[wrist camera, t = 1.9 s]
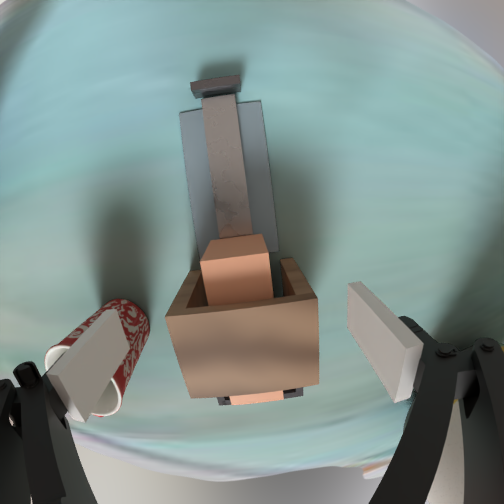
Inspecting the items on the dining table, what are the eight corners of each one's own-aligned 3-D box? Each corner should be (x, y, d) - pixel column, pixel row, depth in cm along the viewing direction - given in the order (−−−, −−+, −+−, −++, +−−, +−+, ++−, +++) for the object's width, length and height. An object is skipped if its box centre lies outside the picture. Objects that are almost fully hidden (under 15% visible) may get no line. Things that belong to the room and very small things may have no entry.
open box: (297, 325, 34) (319, 384, 23) (204, 337, 34) (190, 398, 23) (292, 257, 32) (317, 298, 21) (189, 271, 32) (164, 316, 21)
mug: (97, 282, 32) (38, 331, 19) (160, 302, 33) (121, 367, 20) (96, 356, 35) (56, 415, 22) (151, 375, 36) (123, 444, 23)
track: (271, 339, 35) (274, 352, 32) (233, 344, 35) (232, 357, 32) (239, 84, 27) (239, 74, 24) (194, 90, 27) (190, 82, 24)
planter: (455, 298, 35) (573, 390, 9) (503, 343, 39) (574, 406, 13) (357, 421, 40) (406, 543, 14) (430, 433, 44) (476, 510, 18)
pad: (279, 250, 32) (279, 251, 32) (200, 261, 32) (200, 261, 32) (260, 101, 28) (260, 101, 27) (179, 113, 28) (179, 113, 27)
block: (276, 357, 34) (283, 399, 26) (233, 362, 34) (231, 405, 26) (261, 233, 30) (268, 252, 22) (210, 240, 30) (199, 261, 22)
